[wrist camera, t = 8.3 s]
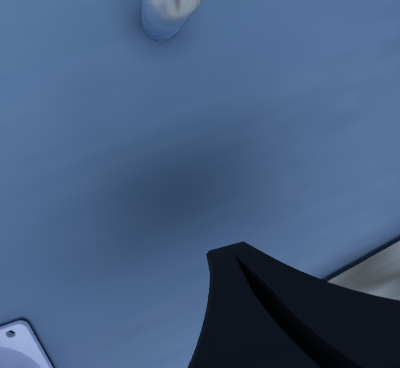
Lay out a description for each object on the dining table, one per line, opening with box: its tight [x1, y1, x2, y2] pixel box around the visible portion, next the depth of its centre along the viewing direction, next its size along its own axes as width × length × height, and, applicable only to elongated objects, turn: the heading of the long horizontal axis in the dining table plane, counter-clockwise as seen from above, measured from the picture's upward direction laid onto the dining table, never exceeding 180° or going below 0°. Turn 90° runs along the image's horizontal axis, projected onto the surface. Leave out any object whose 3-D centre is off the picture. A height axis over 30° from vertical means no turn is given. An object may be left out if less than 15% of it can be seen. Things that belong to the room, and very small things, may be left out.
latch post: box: [141, 0, 202, 41], centre depth 13 cm, size 2×2×7 cm
